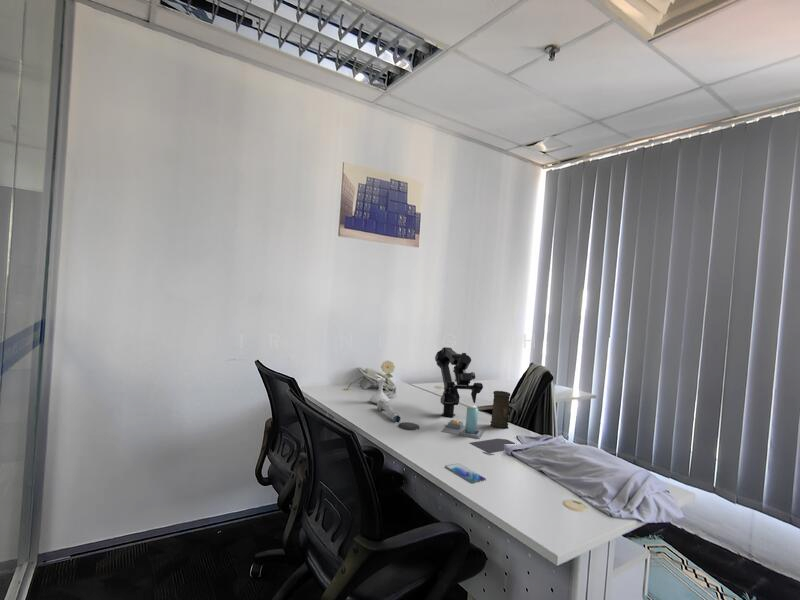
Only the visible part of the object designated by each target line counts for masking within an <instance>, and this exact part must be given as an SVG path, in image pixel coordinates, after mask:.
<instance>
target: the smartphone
mask: <svg viewBox="0 0 800 600" xmlns="http://www.w3.org/2000/svg"><path fill="white" fill-rule="evenodd" d="M444 468H445V469H447V470H448V469H449V470H448V471H450V470H451V471H450V472H452V473H453V472H454V474H455V473H456V474H455V475H457V476H458V475H459V477H460V478H461V479H463V478H464V479H463V480H465V481H467V482H468V481H469V483H470V482H471V483H470V484H477V483H481V482H485V481H487V479H486V478H485V477H483V476H482V475H480V474H478V473H477V472H475V471H473V470H471V469H470V468H468V467H466V466H465V465H462V464H461V463H452V464H451V463H450V464H447V465H445V466H444ZM484 480H485V481H484ZM480 481H481V482H480ZM476 482H477V483H476Z"/></svg>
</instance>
